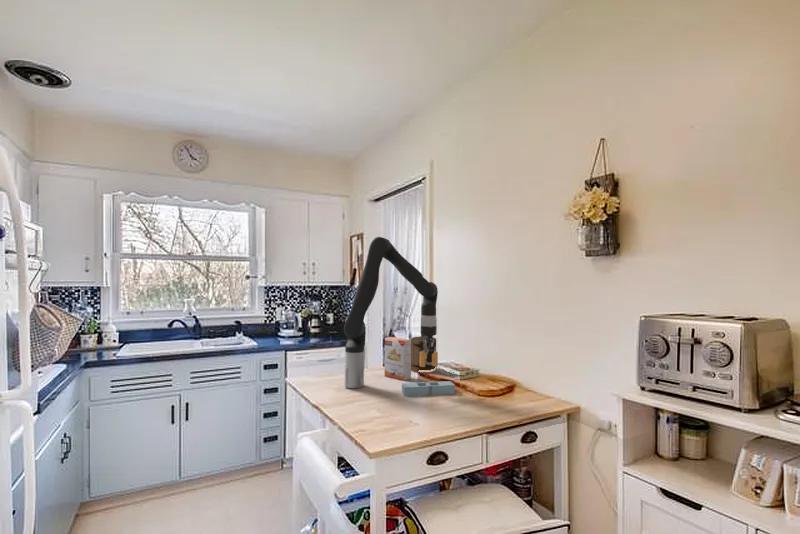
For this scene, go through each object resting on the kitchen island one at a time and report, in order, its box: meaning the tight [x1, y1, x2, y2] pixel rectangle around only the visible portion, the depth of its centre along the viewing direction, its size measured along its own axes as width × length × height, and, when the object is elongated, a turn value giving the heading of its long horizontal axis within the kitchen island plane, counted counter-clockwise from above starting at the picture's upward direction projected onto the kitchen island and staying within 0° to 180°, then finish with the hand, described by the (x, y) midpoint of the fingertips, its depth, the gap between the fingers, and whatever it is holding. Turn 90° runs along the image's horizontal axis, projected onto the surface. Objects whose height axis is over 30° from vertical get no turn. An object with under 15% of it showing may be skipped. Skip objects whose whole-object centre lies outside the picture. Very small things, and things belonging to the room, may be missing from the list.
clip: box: [419, 350, 439, 367], centre depth 199 cm, size 8×3×6 cm, turn 102°
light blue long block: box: [401, 380, 456, 397], centre depth 199 cm, size 24×7×4 cm, turn 102°
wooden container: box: [410, 334, 437, 373], centre depth 243 cm, size 15×15×22 cm
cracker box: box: [384, 336, 412, 381], centre depth 226 cm, size 14×6×21 cm, turn 50°
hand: (428, 361), depth 199 cm, fingers closed on clip, 3 cm apart
